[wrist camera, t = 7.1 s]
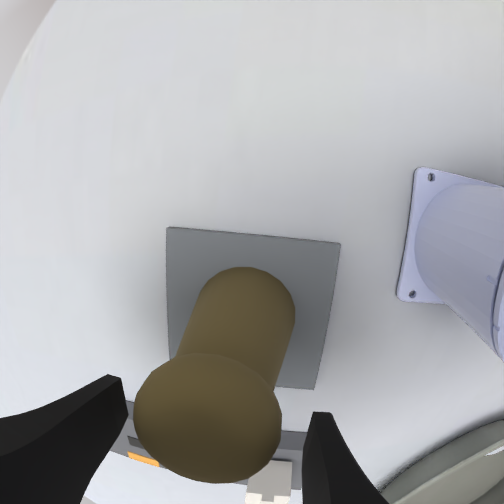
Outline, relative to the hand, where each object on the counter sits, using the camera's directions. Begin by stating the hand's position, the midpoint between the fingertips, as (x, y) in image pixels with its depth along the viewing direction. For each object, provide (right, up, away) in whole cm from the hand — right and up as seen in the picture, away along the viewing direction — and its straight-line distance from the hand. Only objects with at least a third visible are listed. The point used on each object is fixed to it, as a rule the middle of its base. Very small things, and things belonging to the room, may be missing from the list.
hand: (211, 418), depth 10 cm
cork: (+1, +2, +9) cm, 9 cm away
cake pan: (+25, -21, +12) cm, 35 cm away
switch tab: (+3, -11, +10) cm, 15 cm away
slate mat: (+1, +2, +9) cm, 9 cm away
